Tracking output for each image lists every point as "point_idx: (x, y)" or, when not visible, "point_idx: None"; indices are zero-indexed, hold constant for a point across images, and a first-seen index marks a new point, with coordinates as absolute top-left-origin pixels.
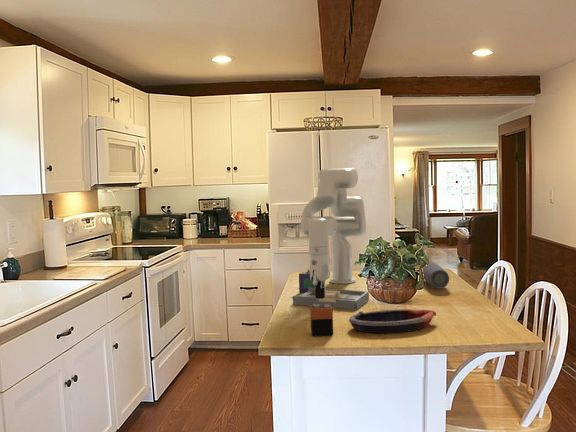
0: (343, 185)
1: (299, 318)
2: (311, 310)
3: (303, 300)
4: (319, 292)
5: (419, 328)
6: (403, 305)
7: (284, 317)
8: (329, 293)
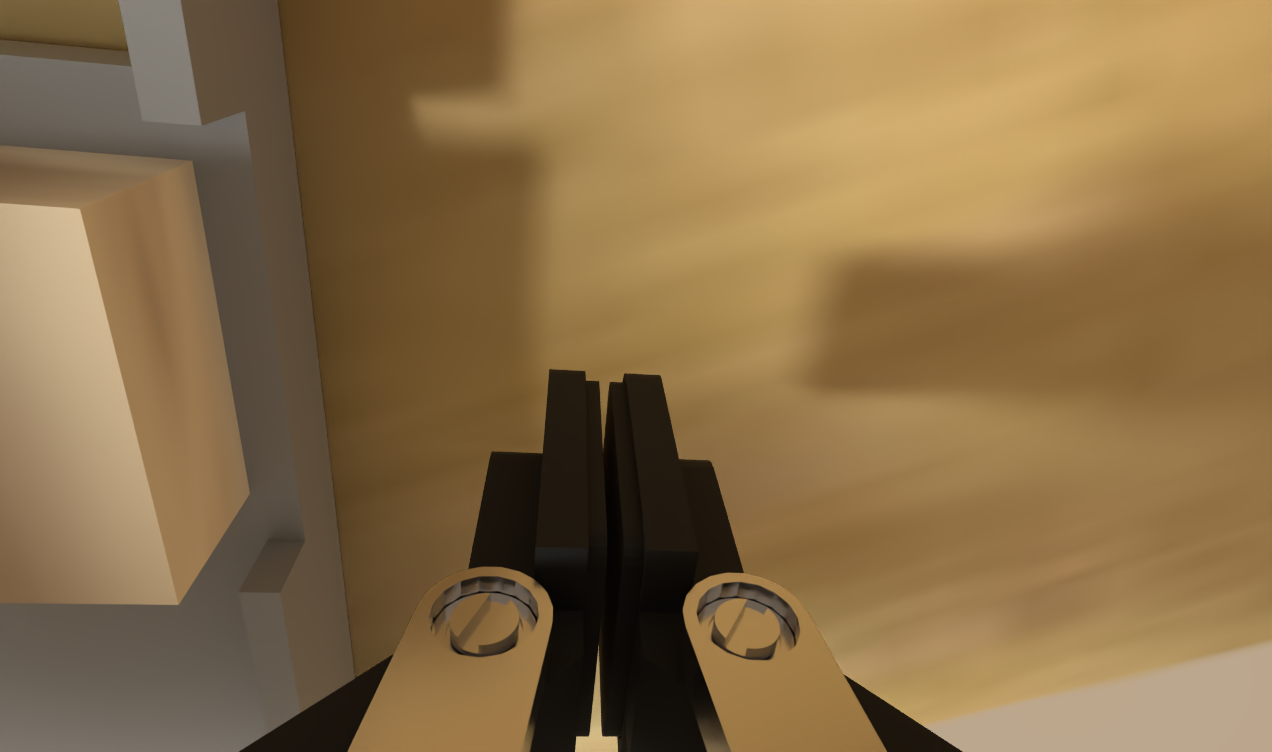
0: None
1: (1047, 474)
2: None
3: None
4: (725, 548)
5: None
6: None
7: (996, 638)
8: (1, 391)
